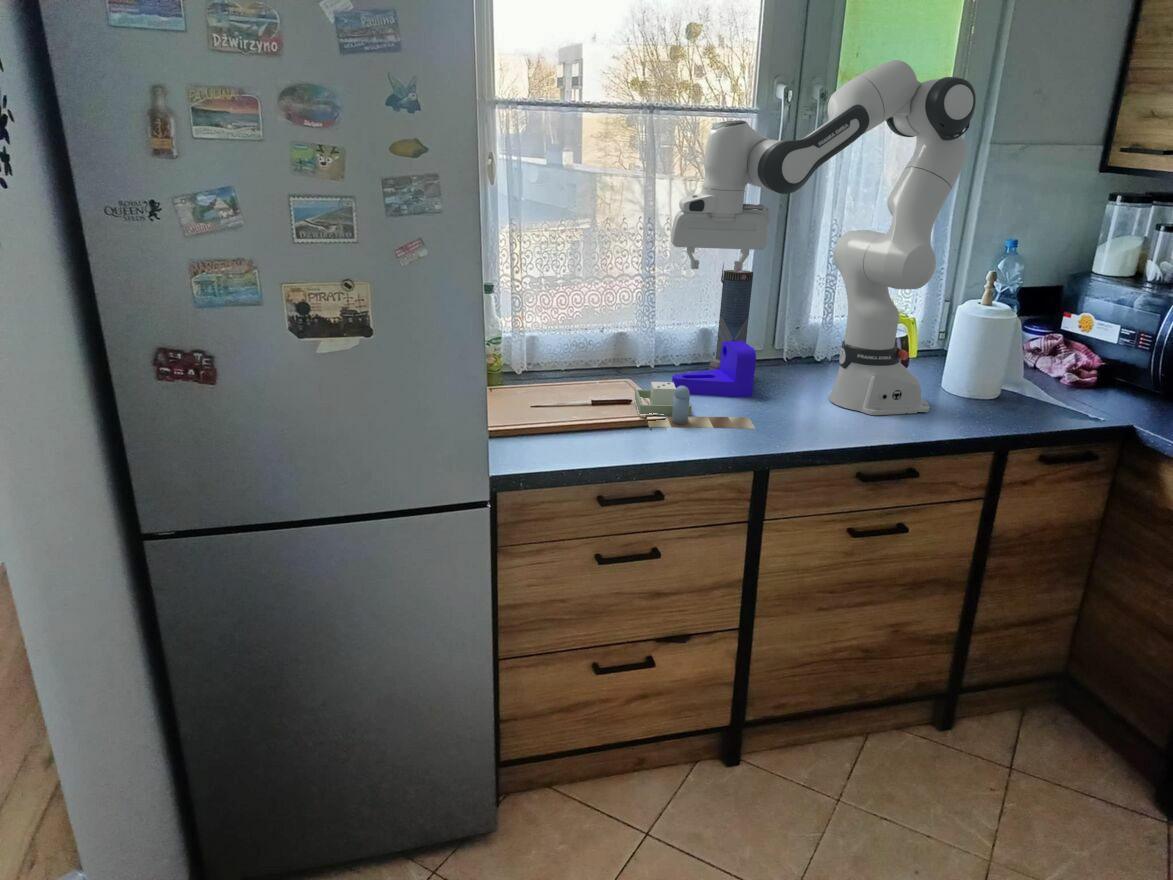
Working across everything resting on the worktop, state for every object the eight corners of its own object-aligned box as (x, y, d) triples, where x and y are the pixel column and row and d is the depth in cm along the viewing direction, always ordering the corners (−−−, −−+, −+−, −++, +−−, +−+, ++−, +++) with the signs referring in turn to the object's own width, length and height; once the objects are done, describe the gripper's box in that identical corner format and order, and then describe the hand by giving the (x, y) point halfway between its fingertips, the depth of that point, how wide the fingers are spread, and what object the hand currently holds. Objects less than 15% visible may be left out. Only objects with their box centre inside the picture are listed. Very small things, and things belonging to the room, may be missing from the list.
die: (671, 403, 199) (673, 381, 197) (674, 410, 194) (676, 388, 192) (649, 402, 198) (651, 380, 197) (652, 410, 194) (653, 387, 192)
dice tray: (682, 402, 202) (683, 390, 201) (690, 418, 191) (691, 406, 190) (634, 401, 201) (634, 389, 200) (639, 417, 191) (640, 405, 190)
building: (709, 383, 216) (720, 261, 205) (706, 373, 224) (716, 255, 213) (750, 386, 215) (764, 263, 205) (746, 375, 224) (759, 257, 213)
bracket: (735, 385, 216) (740, 338, 212) (751, 399, 206) (756, 350, 202) (665, 387, 212) (668, 339, 208) (677, 401, 202) (681, 352, 198)
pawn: (686, 419, 189) (689, 383, 186) (688, 424, 186) (691, 388, 183) (670, 418, 189) (673, 383, 186) (672, 424, 186) (675, 388, 183)
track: (748, 419, 192) (748, 417, 192) (755, 431, 185) (755, 428, 185) (645, 418, 190) (646, 415, 190) (649, 429, 184) (650, 426, 184)
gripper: (767, 203, 187) (760, 268, 192) (672, 199, 185) (667, 265, 190) (775, 206, 181) (767, 273, 186) (676, 203, 179) (671, 270, 184)
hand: (716, 269), depth 188 cm, fingers open, 8 cm apart
